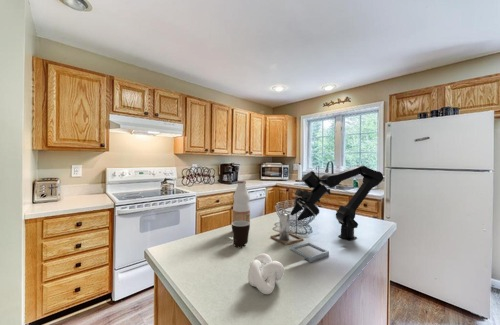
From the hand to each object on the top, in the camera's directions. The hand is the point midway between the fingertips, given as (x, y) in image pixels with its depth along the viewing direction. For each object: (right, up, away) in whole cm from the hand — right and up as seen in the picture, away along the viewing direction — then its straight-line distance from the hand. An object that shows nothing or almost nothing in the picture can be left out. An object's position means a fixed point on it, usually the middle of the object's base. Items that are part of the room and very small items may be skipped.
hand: (294, 217), depth 106 cm
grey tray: (+4, -12, -14) cm, 19 cm away
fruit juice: (-26, -11, +13) cm, 32 cm away
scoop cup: (-5, -10, -1) cm, 11 cm away
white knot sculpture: (-16, -13, -37) cm, 42 cm away
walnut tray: (-4, -12, 0) cm, 12 cm away
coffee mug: (-26, -12, -3) cm, 29 cm away
